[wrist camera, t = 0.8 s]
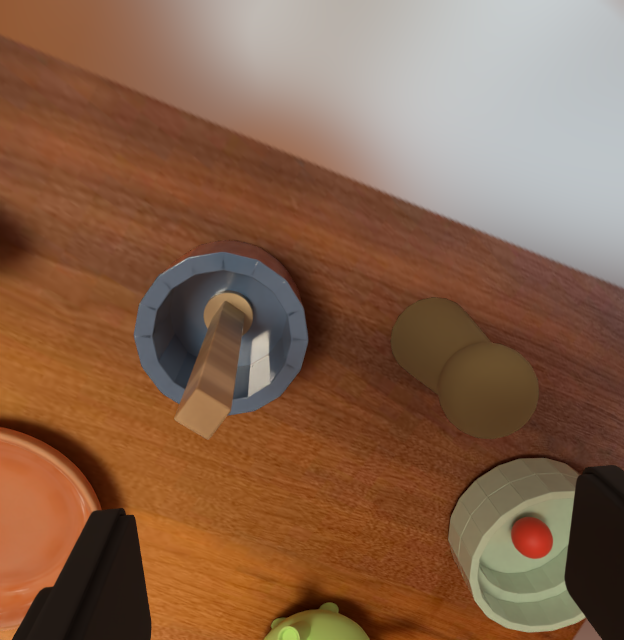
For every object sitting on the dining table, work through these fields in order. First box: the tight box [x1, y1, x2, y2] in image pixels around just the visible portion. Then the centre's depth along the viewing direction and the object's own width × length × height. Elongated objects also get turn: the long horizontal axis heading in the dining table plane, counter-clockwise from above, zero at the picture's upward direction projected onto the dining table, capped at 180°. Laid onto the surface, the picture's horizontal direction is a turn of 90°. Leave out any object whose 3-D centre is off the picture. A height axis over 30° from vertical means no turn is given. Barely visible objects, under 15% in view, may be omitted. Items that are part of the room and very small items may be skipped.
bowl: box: [448, 458, 586, 632], centre depth 38 cm, size 12×12×5 cm
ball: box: [511, 517, 553, 559], centre depth 39 cm, size 3×3×3 cm
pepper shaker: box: [391, 297, 539, 439], centre depth 31 cm, size 6×6×11 cm
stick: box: [174, 290, 253, 439], centre depth 26 cm, size 3×3×15 cm
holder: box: [134, 240, 309, 416], centre depth 31 cm, size 10×10×6 cm
